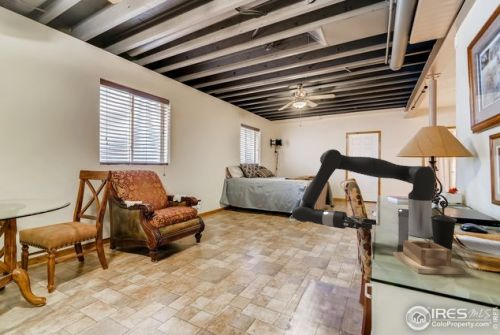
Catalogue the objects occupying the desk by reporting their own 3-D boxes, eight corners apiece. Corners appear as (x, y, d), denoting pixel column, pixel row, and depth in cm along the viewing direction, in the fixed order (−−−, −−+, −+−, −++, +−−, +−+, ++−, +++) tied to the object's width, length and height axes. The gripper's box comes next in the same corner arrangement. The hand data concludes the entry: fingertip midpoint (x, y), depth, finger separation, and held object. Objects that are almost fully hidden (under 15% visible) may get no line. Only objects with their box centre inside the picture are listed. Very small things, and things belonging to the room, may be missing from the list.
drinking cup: (450, 259, 84) (450, 203, 84) (426, 252, 91) (426, 200, 91) (460, 255, 88) (460, 202, 87) (436, 249, 94) (436, 199, 94)
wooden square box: (432, 256, 87) (432, 239, 86) (464, 274, 73) (465, 253, 73) (393, 255, 87) (393, 238, 87) (418, 273, 73) (418, 252, 73)
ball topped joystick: (398, 249, 94) (398, 207, 93) (408, 251, 91) (409, 208, 91) (397, 252, 90) (397, 209, 90) (408, 254, 88) (408, 210, 88)
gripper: (329, 213, 102) (370, 218, 92) (339, 208, 113) (377, 212, 103) (329, 230, 102) (370, 237, 92) (339, 224, 113) (377, 229, 103)
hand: (374, 224), depth 97 cm, fingers open, 8 cm apart
